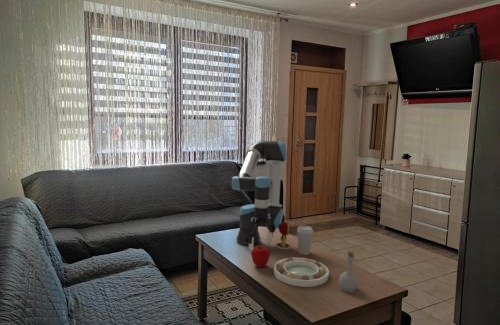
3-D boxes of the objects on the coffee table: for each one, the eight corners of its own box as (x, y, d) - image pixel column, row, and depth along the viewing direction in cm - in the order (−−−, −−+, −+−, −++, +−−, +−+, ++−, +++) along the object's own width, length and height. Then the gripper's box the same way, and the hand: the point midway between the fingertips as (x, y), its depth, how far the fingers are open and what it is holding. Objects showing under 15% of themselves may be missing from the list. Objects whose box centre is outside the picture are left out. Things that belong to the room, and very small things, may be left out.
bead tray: (262, 272, 175) (263, 264, 174) (297, 258, 193) (297, 251, 193) (305, 292, 155) (305, 283, 155) (339, 275, 174) (339, 267, 173)
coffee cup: (311, 250, 207) (312, 225, 205) (313, 256, 198) (314, 230, 196) (295, 249, 208) (296, 224, 206) (296, 255, 199) (297, 229, 197)
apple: (247, 265, 183) (247, 245, 182) (260, 260, 190) (261, 241, 188) (259, 271, 176) (260, 251, 175) (273, 266, 182) (273, 246, 181)
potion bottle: (334, 288, 160) (337, 251, 158) (344, 282, 166) (347, 246, 164) (352, 295, 154) (354, 256, 152) (361, 289, 160) (364, 251, 158)
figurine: (291, 249, 207) (294, 225, 205) (275, 248, 207) (277, 223, 205) (290, 244, 215) (292, 221, 214) (274, 243, 215) (276, 219, 214)
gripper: (248, 211, 168) (247, 254, 170) (283, 204, 184) (282, 243, 187) (238, 208, 173) (237, 249, 175) (273, 202, 190) (271, 239, 192)
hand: (260, 246), depth 181 cm, fingers open, 13 cm apart
